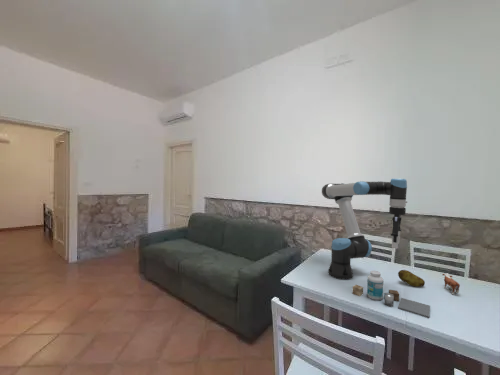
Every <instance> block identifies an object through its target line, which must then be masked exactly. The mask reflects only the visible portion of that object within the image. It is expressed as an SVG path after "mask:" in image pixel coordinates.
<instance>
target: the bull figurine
mask: <svg viewBox="0 0 500 375" xmlns="http://www.w3.org/2000/svg"><path fill="white" fill-rule="evenodd" d="M442 276H444V279H443V280H444V286H443V289H447V286H448V287H449V291H452V292H451V295H455V294H458V293H460V283H459V282H458V281H456V280H454V279H453V275H450V274H449V273H447V272H446V273H442Z"/></svg>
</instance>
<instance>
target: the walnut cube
mask: <svg viewBox="0 0 500 375" xmlns="http://www.w3.org/2000/svg"><path fill="white" fill-rule="evenodd" d="M388 293H390V294H393V295H394V302H400V293H399V291H398V290H394V289H388Z"/></svg>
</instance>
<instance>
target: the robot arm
mask: <svg viewBox="0 0 500 375" xmlns="http://www.w3.org/2000/svg"><path fill="white" fill-rule="evenodd" d="M407 189H408V181H407V179H406V178H391V179H390V181H363V180H362V181H361V180H360V181H356V182H350V183H342V182H341V183H327V184H325V185H323V186H322V188H321V195H322V196H323V197H324V198H325V199H326V200H334V201H335V202H334V203H335V204H336V205H338V208H339V211H340V214H341V217H342V221H343V224H344V228H345V233H346V234H347V237H339V238H335V239H333V240H332V241H331V260H330V264H329V267H328V272H327V273H329V274H328V275H329V276H330V277H331V278H334V279H338V280H351V279H353V278H354V271H353V268H352V265H351V260H352V259H360V258H361V259H364V258H367V257H369V256H371V253H372V252H373V247H372V242H370V241H369V240H368V239H366V237H365V235H364V234H362V233H361V230H360V227H359V224H358V220H357V218H356V214H355V212H354V209H353V208H354V207H353V204H352V201H353V197H354V196H365V195H366V196H369V195H371V196H373V195H375V196H379V195H380V196H381V195H383V196H385V195H386V196H389V203H388V204H389V210H388V211H389V214H390V215H393V216H392V229H391V230H392V231H391V233H390V236H391V249H396V250H397V249H399V244H400V243H401V242H400V240H401V239H400V237H401V232H402V229H401V223H402V217H401V216H404V215H406V210H407V208H406V207H407V203H408V201H407V191H408V190H407Z"/></svg>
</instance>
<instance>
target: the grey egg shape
mask: <svg viewBox="0 0 500 375" xmlns="http://www.w3.org/2000/svg"><path fill="white" fill-rule="evenodd" d="M383 298H384V299H383V302H384V303H383V304H384V305H385V306H386V307H390V308H392V307H394V302H395V301H394V295H393V294H390V293H389V292H385V293H383Z"/></svg>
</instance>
